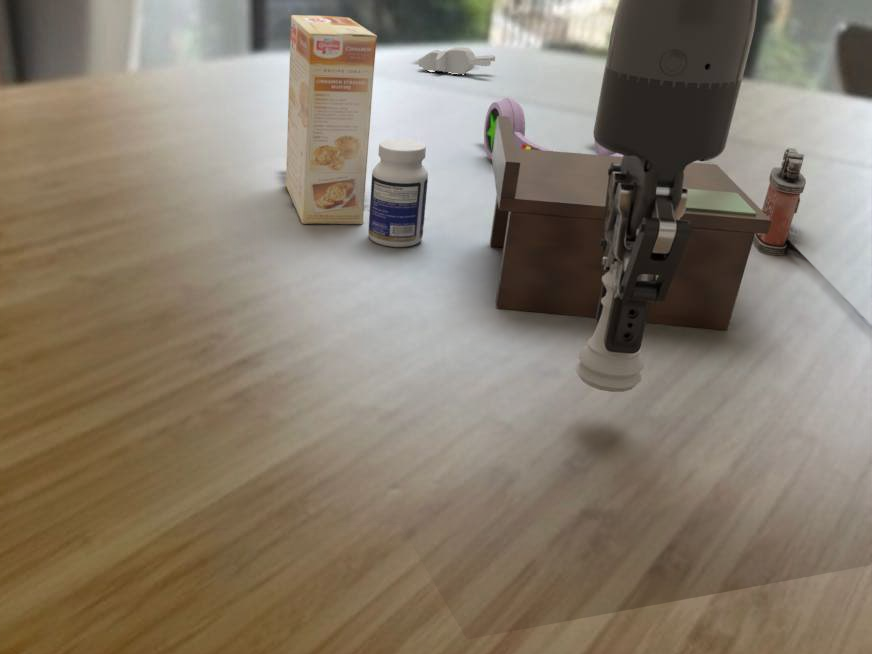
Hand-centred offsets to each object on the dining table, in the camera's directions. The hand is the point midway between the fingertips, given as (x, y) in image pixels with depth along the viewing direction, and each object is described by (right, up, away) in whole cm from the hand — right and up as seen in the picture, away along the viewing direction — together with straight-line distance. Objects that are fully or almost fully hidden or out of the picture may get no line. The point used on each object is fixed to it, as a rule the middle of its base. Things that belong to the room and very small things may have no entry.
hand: (616, 336), depth 60 cm
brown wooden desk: (+7, +7, +27) cm, 29 cm away
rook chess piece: (0, -3, +2) cm, 3 cm away
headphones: (+14, +25, +62) cm, 69 cm away
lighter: (+30, +13, +41) cm, 52 cm away
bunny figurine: (+7, +62, +128) cm, 142 cm away
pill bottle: (-12, +12, +35) cm, 39 cm away
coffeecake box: (-20, +18, +45) cm, 52 cm away
